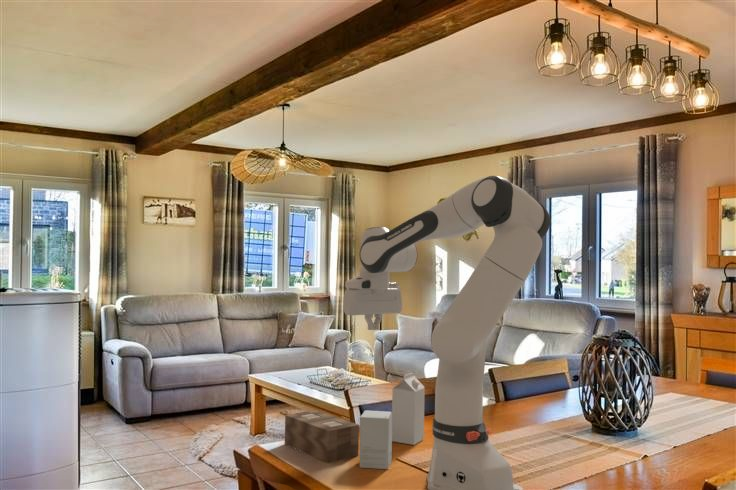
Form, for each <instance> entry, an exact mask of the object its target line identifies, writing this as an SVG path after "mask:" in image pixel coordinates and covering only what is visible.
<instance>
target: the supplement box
mask: <svg viewBox="0 0 736 490" xmlns="http://www.w3.org/2000/svg"><path fill="white" fill-rule="evenodd" d="M392 443H393V441H392V411H386V410H384V411H383V410H382V411H381V410H369V409H368V410H364V411H363V412H362V414H361V415H360V416H359V468H361V469H362V468H365V469H378V470H389V467H390V465H391V463H392V459H393V457H392V454H393V453H392V447H393V445H392Z"/></svg>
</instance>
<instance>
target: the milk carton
mask: <svg viewBox="0 0 736 490" xmlns="http://www.w3.org/2000/svg"><path fill="white" fill-rule="evenodd" d="M425 388H426V387H425V386H424V385H423V384H422V383H421V382H420V380H419V379H417V377H416V376H415V372H410V373H408V374H405V375H403V379H402V380H401V381H400V382H398V383H397V384H396V385H395V386H394V387H393V388H392V394H391V395H392V396H391V399H392V400H391V404H392V405H391V412H392V442H394V443H402V444H406V445H407V444H408V445H411V446H415V445H417V444H418V443H420V442H421V441H423V440H424V439H425V437H424V436H425V392H426V391H425Z"/></svg>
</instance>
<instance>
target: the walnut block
mask: <svg viewBox="0 0 736 490" xmlns="http://www.w3.org/2000/svg"><path fill="white" fill-rule="evenodd" d="M308 414H315V415H317V416H320V417H317V418H311V419H307V418H304V417H302V415H308ZM284 417H285V418H284V445H286V446H288V445H289V447H290V446H291V447H290V448H292V447H294V448H293V449H295V448H296V449H295V450H297V449H298V450H297V451H299V450H301V451H300V452H302V451H303V452H302V453H304V452H305V453H304V454H306V453H307V455H309V456H311V457H313V458H316V459H318V460H320V461H322V462H325V463H327V464H328V463H333V462H337V461H341V460H344V459H349V458H353V457H354V458H355V457H357V456H358V457H359V453H360V424H358V423H355V422H352V421H349V420H346V419H343V418H341V417H337V416H333V415H331V414H328V413H326V412H321V411H319V410H315V409H312V410H308V411H307V410H306V411H302V412H301V411H300V412H295V413H290V414H285V415H284ZM332 421H335V422H338V423H341V424H343V425H338V426H333V427H330V426H327V425H324V424H322V423H327V422H332Z"/></svg>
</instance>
